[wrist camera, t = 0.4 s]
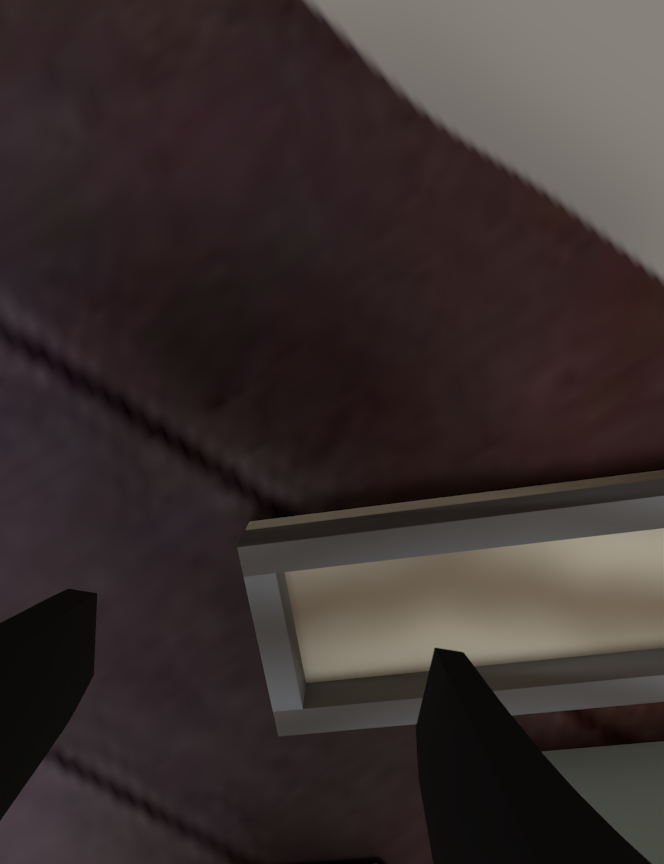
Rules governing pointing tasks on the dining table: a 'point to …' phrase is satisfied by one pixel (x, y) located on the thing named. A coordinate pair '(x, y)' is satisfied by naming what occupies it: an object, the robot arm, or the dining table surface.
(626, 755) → the grey-green rectangular block
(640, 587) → the grey shallow tray
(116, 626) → the dining table surface
